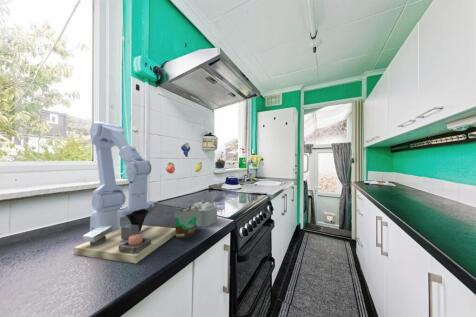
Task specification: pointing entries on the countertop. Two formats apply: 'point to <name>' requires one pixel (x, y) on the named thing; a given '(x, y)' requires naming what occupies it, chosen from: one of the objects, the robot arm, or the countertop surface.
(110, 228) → the rocker switch
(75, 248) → the control board
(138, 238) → the push button
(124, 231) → the slider knob
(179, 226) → the food container
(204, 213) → the lumpy-topped squat cylinder
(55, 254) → the countertop surface
